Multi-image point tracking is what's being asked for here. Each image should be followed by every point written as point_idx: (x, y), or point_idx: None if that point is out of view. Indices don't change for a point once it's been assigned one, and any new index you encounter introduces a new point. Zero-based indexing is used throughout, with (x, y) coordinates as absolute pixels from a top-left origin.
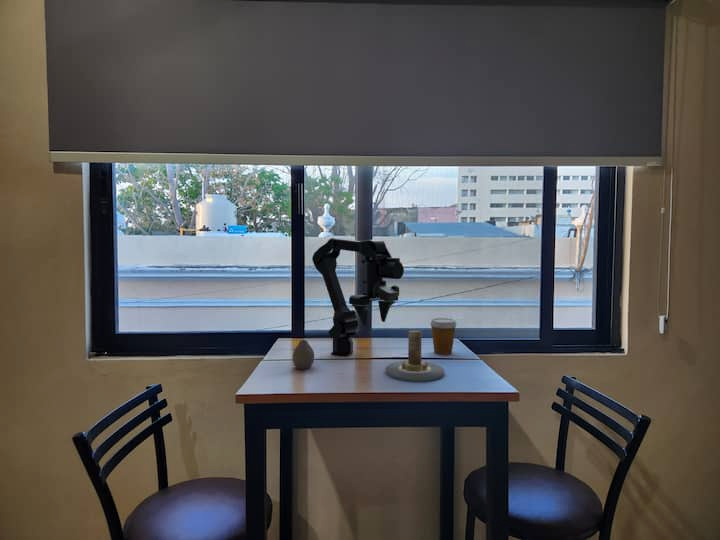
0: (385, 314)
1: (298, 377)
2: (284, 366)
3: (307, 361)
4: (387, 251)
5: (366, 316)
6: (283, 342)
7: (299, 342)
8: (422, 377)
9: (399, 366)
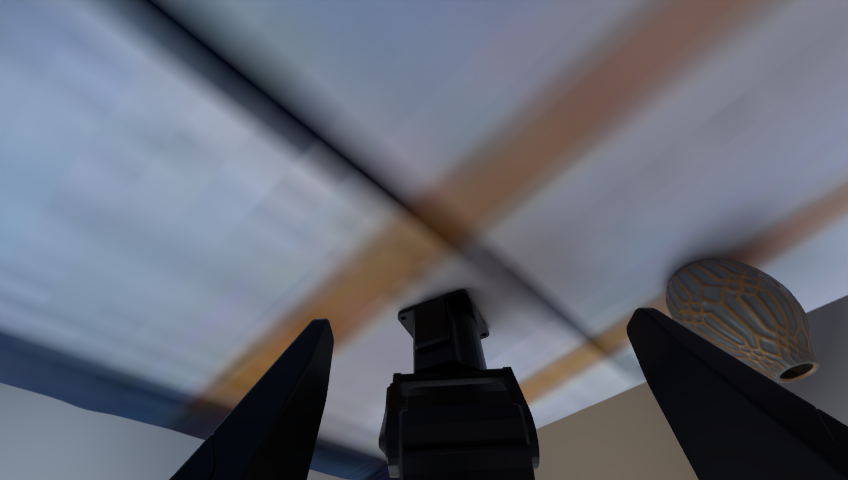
0: (285, 401)
1: (842, 201)
2: None
3: (758, 270)
4: None
5: (769, 401)
6: None
7: (805, 370)
8: None
9: None
